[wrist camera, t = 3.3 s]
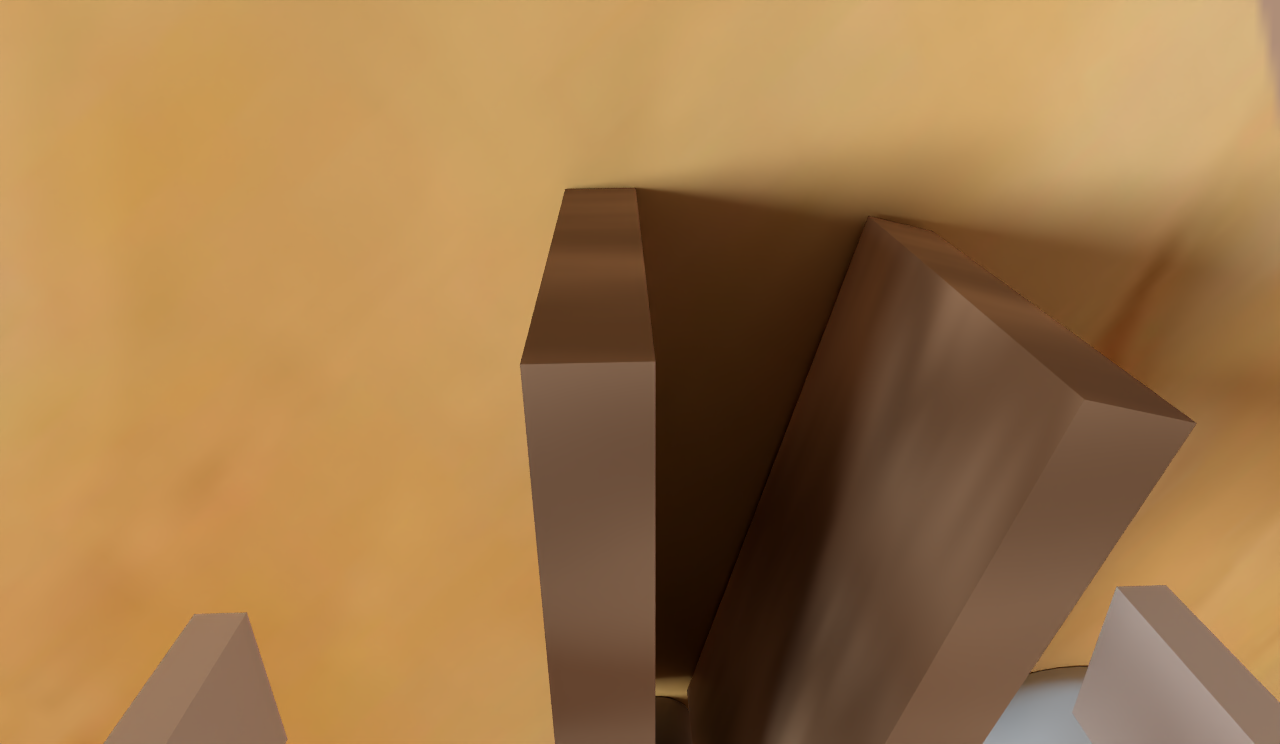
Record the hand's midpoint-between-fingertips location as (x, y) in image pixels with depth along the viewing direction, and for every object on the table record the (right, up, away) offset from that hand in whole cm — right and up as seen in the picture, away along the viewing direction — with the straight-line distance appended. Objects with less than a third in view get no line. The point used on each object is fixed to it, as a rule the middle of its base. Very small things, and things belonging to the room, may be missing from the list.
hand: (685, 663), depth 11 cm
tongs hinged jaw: (+3, 0, +10) cm, 10 cm away
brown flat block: (-1, 0, +10) cm, 10 cm away
